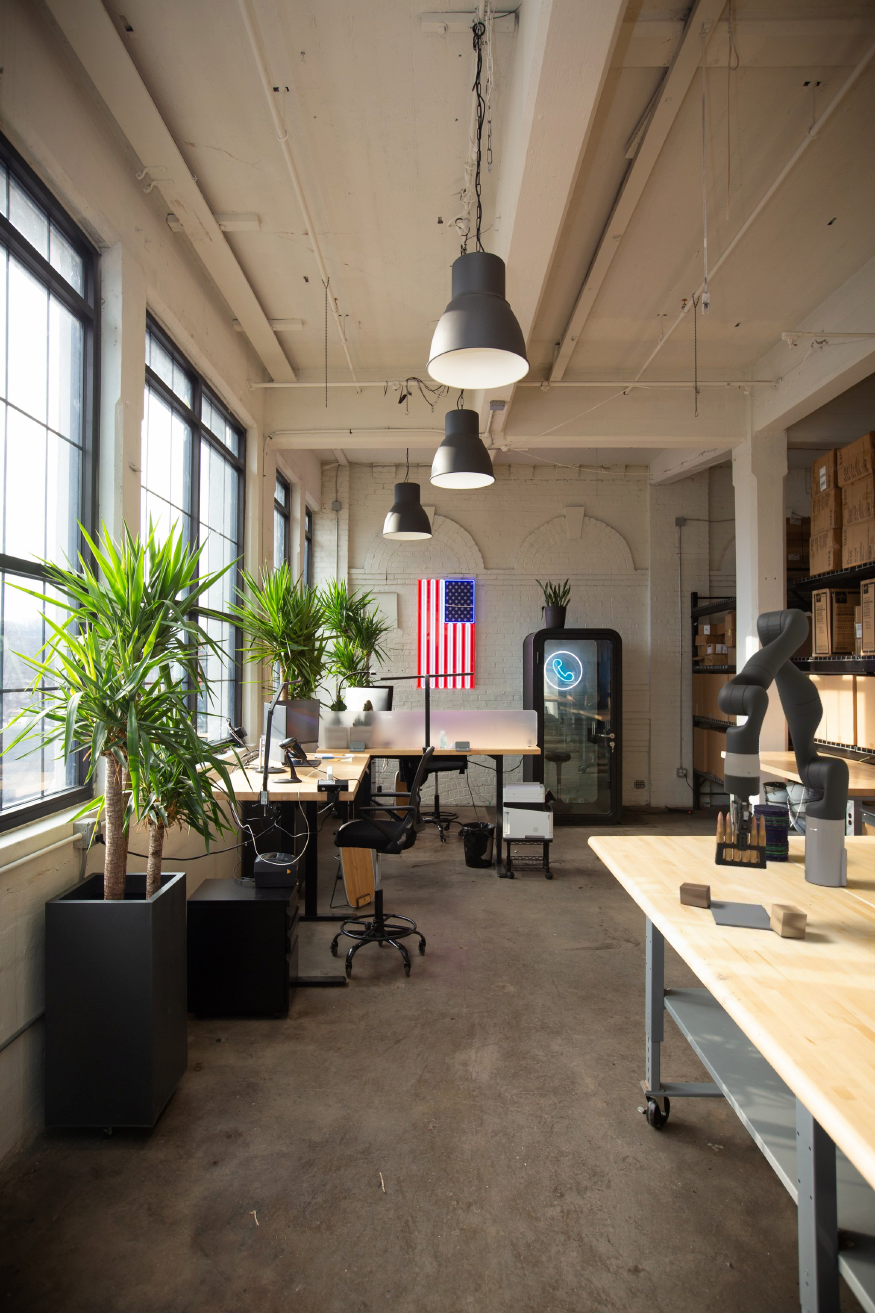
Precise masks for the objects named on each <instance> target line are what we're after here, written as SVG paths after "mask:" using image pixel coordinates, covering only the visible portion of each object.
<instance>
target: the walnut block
mask: <svg viewBox="0 0 875 1313" xmlns="http://www.w3.org/2000/svg"><path fill="white" fill-rule="evenodd" d="M711 895H712V894H711V885H707V884H700V883H693V882H685V881H684V882H682V884H681V885H680V886H679V903H680V904H682V905H687V906H694V907H701V908H708V907H709V904H710V903H711V900H712V898H711Z"/></svg>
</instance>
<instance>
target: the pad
mask: <svg viewBox="0 0 875 1313" xmlns="http://www.w3.org/2000/svg"><path fill="white" fill-rule="evenodd" d="M708 907H709V910H710V912H711V915H712V917H713V920H714V924H715V925H719V926H728V927H734V928H735V927H736V928H744V929H745V928H746V929H755V930H762V931H773V932H774V930H773V929H772V928H771V927H770V919H771V917H770V915H768V913H767V911H766V910H765V908H764V907H763V905H762V904H756V903H745V902H734V901H725V900H724V901H723V900H714V899H711V903H710V904H709V905H708Z"/></svg>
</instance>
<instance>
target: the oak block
mask: <svg viewBox="0 0 875 1313" xmlns="http://www.w3.org/2000/svg"><path fill="white" fill-rule="evenodd" d="M807 920H808V913H806V912H804V911H803V910H802V909H800V908H799V907H798V906H795V905H790V904H778V903H771V912H770V927H771V928H772V929H773V930H774V931H775V933H776V934H778V935H779V936H780V937H787V938H798V939H806V931H807V930H806V929H807ZM774 931H773V932H774Z"/></svg>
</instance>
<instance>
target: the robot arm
mask: <svg viewBox="0 0 875 1313" xmlns="http://www.w3.org/2000/svg"><path fill="white" fill-rule="evenodd" d="M756 631H757V635H758V639H759V642H760V644H761V646H762V648H760V649H759V650H758V651H756V652H754V654H753V655H751V657H750V658H749V659H747V661H746V663H745V664H744V667H743V668H742V670H741V671H740V672H739V673H738V674H736V675H735V676H734V677H733V678H731V679H730V680H729V681H727V682H726V683H725V684H724V685H723V686H722V688H720V691H719V693H718V696H717V705H718V708H719V709H720V712H722V713H723V714H725V715H727V716H738V717H739V716H741V717H747V720H746V722H745V723H744V724H742V725H733V726H729V727H728V728H727V730H726V732H725V733H726V734H725V756H724V762H723V763H724V767H723V769H724V770H723V771H724V772H723V776H724V777H723V791H724V793H726V794H728V795H732V796H733V800H731V801H730V805H731V806H730V807H731V820H732V829H734V822H735V823H736V833H737V837H736V848H737V850H738V851H747V838H748V834H749V835H750V830H751V820H752V816H753V814H754V812H753V804H752V803H751V801H750V797H757V796H759V795H760V793H761V760H760V739H761V738H760V736H761V731H762V727H763V723H764V719H765V717H766V714H767V710H768V707H769V704H770V702H769V701H770V699H769V698H770V697H769V695H768V692H767V691H768V690H769V689H770V687H771V685H772V683H773V682H775V685H776V689H777V693H778V696H779V697H778V698H779V701H780V704H781V707H782V711H783V714H784V717H785V719H786V722H787V726H788V729H789V733H790V734H789V735H790V738H791V742H792V746H793V751H794V756H795V762H796V767H797V773H798V777H799V780H800V781H801V784H802V785H804V787H806V788H808V789H811V790H817V791H823V798H822V799H821V800H819V801H816V802H815V801H813V802H809V803H807V804H806V806H805V822H804V823H805V825H804V826H805V828H804V833H805V834H804V872H803V873H804V880H805V881H806V882H808V883H811V884H815V885H819V886H825V887H847V886H848V885H847V881H848V879H847V878H848V871H847V870H848V849H847V848H845V845H846V844H845V840H846V838H845V836H846V835H845V834H846V812H847V808H848V803H849V802H848V800H849V788H850V787H849V786H850V769H849V766H848V764H847V762H846V760H844V759H843V758H839V757H836V756H826V755H820V754H819V753H818V752H817V748H816V745H815V735H816V733H817V730H818V728H819V725H820V724H821V721H822V718H823V715H824V707H823V703H822V700H821V697H820V692H819V690H818V687H817V686H816V684H815V683H814V681H812V679H810V677H808V676H807V675H806V674H805V673H804V672H803V671H802V670H801V669H799V668H798V667H797V666H796V665H795V664H794V663H793V662H792V661H791V659H790V658H791V657H792V656H793V655H794V654H795V652H796V651H797V650H798V649H799V648H800V647H801V646H802V645H803V644H804V643H805V641H806V640H807V638H808V636H809V632H810V625H809V620H808V617H807V615H806V614H805V612H804V611H803V610H801V609H799V608H788V609H787V608H786V609H781V610H775V611H768V612H763V613H761V614H759V616H758V617H757V620H756ZM737 818H739V819H737ZM743 825H745V826H746V828H744V827H742V826H743Z"/></svg>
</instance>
